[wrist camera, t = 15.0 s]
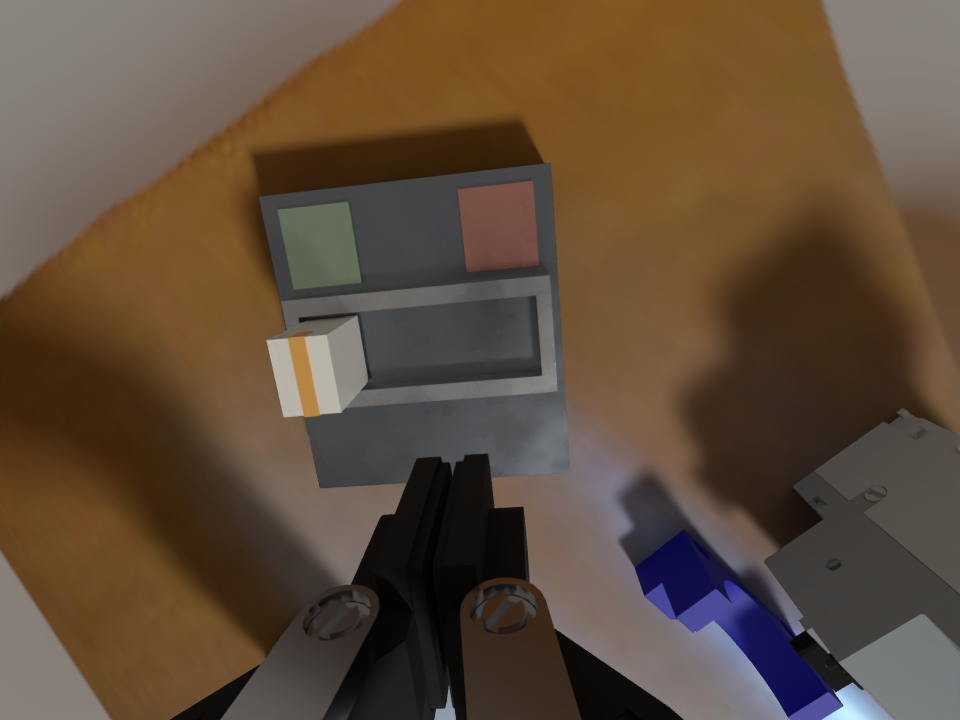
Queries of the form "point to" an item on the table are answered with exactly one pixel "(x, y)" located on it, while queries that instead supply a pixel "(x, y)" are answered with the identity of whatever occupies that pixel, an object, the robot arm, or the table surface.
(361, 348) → the taped parcel
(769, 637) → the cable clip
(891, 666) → the circuit breaker
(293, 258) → the panel
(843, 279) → the table surface
